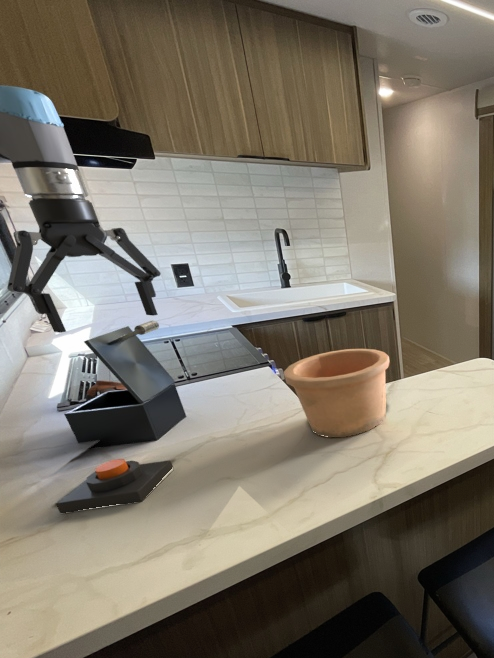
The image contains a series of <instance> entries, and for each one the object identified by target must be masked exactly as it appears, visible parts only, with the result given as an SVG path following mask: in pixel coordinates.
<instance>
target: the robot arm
mask: <svg viewBox="0 0 494 658" xmlns="http://www.w3.org/2000/svg"><path fill="white" fill-rule="evenodd" d="M64 126H65V125H64V123H63V122H62V119H61V118H60V116H59V114H58V111H57V110H56V107H55V105H54V103H53V101H52V100H51V99H50V98H49V97H48V95H45V94H44V93H42V92H40V91H37V90H33V89H29V88H25V87H20V86H12V85H2V84H0V164H4V163H5V164H7V163H11V166H12V168H13V169H14V172H15V174H16V177H17V179H18V182H19V184H20V187H21V189H22V191H23V193H24V194H23V195H25V196H27V197H28V198H31V199H30V200H29V202H28V205H29V207H30V211H31V212H32V214H33V217H34V219H35V222H36V224H37V226H38V232H37V231H27V230H16V231H13V238H14V241H15V244H16V248H15V252H14V257H13V259H12V260H13V261H12V265H11V269H10V273H9V278H8V282H7V287H6V288H7V290H8V292H11V293H19V294H25V295H26V296H28V297H29V299H30V302H31V305H32V306H33V309H34V310H35V312H36V313H37V314H39V315H46V318H47V320H48V322H49V325H50V326H51V329H52V330H53V332H54V333H59V334H60V333H67V330H66V327H65V325H64V323H63V321H62V319H61V316H60V315H59V314H60V313H59V311H58V309H57V307H56V305H55V303H54V301H53V298H52V296H51V294H50V293H46V292H45V293H44V292H43V291H44V289H45V287H46V286H47V284H48V283H49V281H50V280H51V278H52V276H53V275H54V273H55V272H56V270H57V269H58V267H59V266H60V264H61V262H62V261H63V260H64V259H65V258H67V257H68V258H76V257H77V258H79V257H82V256H84V257H93V256H97V255H99V256H100V257H101V258H102V257H103V258H105V259H106V260H108V261H109V262H111V263H112V264H114V265H115V266H117V267H119V268H120V269H122V270H123V271H124V272H126V273H127V274H129V275H131V276H133V277H134V278H135V279H137V280H138V281H135V282H134V285H135V287H136V290H137V293H138V296H139V298H140V301H141V304H142V306H143V309H144V312H145V315H146V316H152V317H155V316H158V315H159V314H158V311H157V309H156V306H155V303H154V301H153V298H156V297H157V293H156V291H155V288H154V285H153V280H154V279H155V278H157V277H160V276H161V271H160V270H159V269H158V268H157V267H156V266H155V265H154V264H153V263H152V262H151V261H150V260H149V259H148V258H147V257H146V256H145V255H144V254H143V253H142V251H141V250H139V248H138V247H137V246H136V245H135V244H134V243H133V242H132V241H131V240H130V239H129V237H128V234H127V232H126V230H125V229H124V228H122V227H114V228H111V229H105V230H104V229H103V227H102V226H101V225H100V221H99V218H98V216H97V213H96V210H95V208H94V205H93V203H92V202H91V201H90V200H88V199H86V198H88V197H89V193H88V190H87V187H86V184H85V182H84V180H83V177H82V174H81V171H80V169H79V166H78V163H77V160H76V158H75V155H74V153H73V150H72V146H71V145H70V144H71V143H70V141H69V138H68V136H67V133H66V131H65V127H64ZM108 238H109V239H110V240H111V241H113V242H116V244H117V245H118V246H119V247H120V248H121V249H122V250H123V251H124V252H125V253H126V255H128V256H129V258H131V259H132V260H133V262H135V263H136V265H134V263H131V261H129V260H127V259H126V258H125V257H123V256H122V255H120V254H118V253H117V252H116V251H115V250H114V249H112V248H111V247H109V246H108V245H107V244H105V243H106V241H107V239H108ZM38 241H42V243H43V242H44V243H45V244H46V245H48V246H49V247H50V248H49V250H48V252H47V253H46V255H45V258H44V259H43V261H42V262H41V264H40V265H39V267H38V268H37V270H36V272H35V273H34V274H33V277H32V278H31V279H30V281H29V282H28V284H27V279H28V275H29V269H30V265H31V261H32V256H33V253H34V252H33V251H34V246H36V245H38ZM137 265H138V266H139V267H138V266H137ZM26 284H27V285H26Z"/></svg>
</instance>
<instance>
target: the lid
mask: <svg viewBox="0 0 494 658" xmlns="http://www.w3.org/2000/svg"><path fill="white" fill-rule="evenodd" d="M159 328H160V324H159V322H158V321H156V320H149V321H147V322H144V323H140V324H138V325H136V326H135V327H134V328H133V329H131V327H130V326H129V325H126V326H123V327H121V328H119V329H118V328H117V329H116V330H112V331H110V332H106V333H104V334H101V335H98V336H95V337H92V338H89V339H86V340H84V341H83V343H84V344H85V345H86V346H87V347H88V349H90V351H91V352H92V353H93V354H94V355H95V356H96V357H97V359H99V361H100V362H101V363H102V364H103V365H104V366H105V367H106V368H107V369H108V370H109V371H110V373H111V374H113V375H114V377H115V378H116V379H117V380H118V381H119V383H122V384H123V385H124V386H125V388H126V389H127V390H128V391H129V392H130V393H131V394H132V395H133V396H134V397H135V399H136V400H137V401H138V402H139V403H140V404H141V403H143V402H145V401H146V400H148V399H149V398H151V397H153V396H154V395H156V394H157V393H159V392H160V391H162V390H163V389H165V388H167V387H168V386H170V385H172V384H175V383H176V380H175V379H174V378H173V377H172V376H171V375H170V373H169V372H168V370H166V368H165V367H164V366H163V365H162V364H161V363H160V362H159V360H158V359H157V358H156V357H155V356H154V354H153V353H152V352H151V351H150V350H149V348H148V347H147V346H146V345H145V343H143V342H142V340H141V339H140V338H139V337H138V336H137V335H140V336H142V335H145V334H149V333H151V332H153V331H156V330H158V329H159Z"/></svg>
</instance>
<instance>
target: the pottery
mask: <svg viewBox="0 0 494 658" xmlns="http://www.w3.org/2000/svg"><path fill="white" fill-rule="evenodd" d="M389 366H390V356H389V355H388V354H387V353H386V352H384V351H382V350H377V349H373V348H372V349H371V348H349V349H348V348H347V349H339V350H334V351H326V352H323V353H318V354H314V355H311V356H309V357H308V356H307V357H305V358H303V359H299V360H298V361H296V362H294V363H292V364H290V365H288V366H287V368H286V369H285V370H284V371H283V376H284V379H285V383H286V384H287V385H288V386H291V387H293V388H294V391H295V393H296V396H297V398H298V401H299V403H300V406H301V407H302V410H303V412H304V414H305V417H306V419H307V422H308V424H309V427H310V429H311V431H312V430H313V431H314V432H316V433H317V434H319V435H324V436H328V437H341V438H347V437H346V436H348V437H352V436H351V435H353V436H357V435H360V434H363V433H365V431H366V432H368V431H370V429H371V430H373V429H374V428H376V427H377V426H379V425H380V424H381V423H382V422H383V421H384V420H385V419H386V416H387V401H386V400H387V395H386V394H387V393H386V387H387V386H386V370H387V369H388V368H389ZM375 426H376V427H375ZM362 432H363V433H362ZM359 433H360V434H359ZM317 434H316V435H317ZM356 434H357V435H356ZM319 435H318V436H319ZM328 437H327V438H328Z"/></svg>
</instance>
